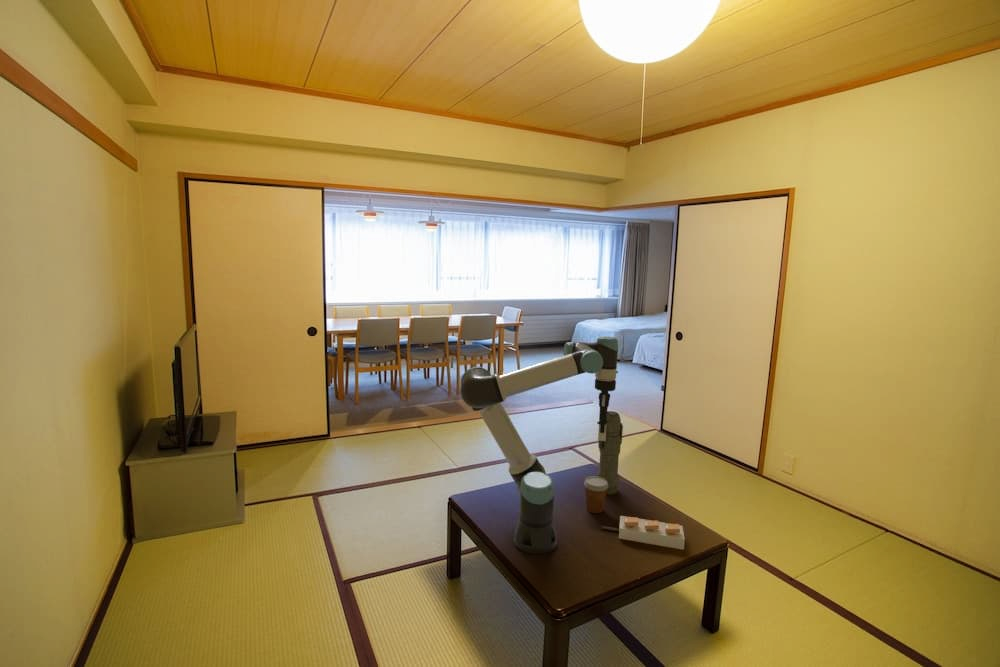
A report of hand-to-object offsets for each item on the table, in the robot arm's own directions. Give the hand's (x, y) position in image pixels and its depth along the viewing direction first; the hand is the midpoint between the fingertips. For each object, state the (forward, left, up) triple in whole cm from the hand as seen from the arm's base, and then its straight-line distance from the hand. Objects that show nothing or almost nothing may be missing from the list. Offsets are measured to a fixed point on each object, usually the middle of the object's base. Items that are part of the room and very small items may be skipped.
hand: (601, 440), depth 177 cm
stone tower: (+16, +22, -33) cm, 42 cm away
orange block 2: (+13, -16, -27) cm, 34 cm away
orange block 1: (+7, -12, -27) cm, 30 cm away
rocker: (+19, -20, -27) cm, 38 cm away
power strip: (+11, -13, -32) cm, 37 cm away
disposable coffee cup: (+3, +8, -33) cm, 34 cm away
